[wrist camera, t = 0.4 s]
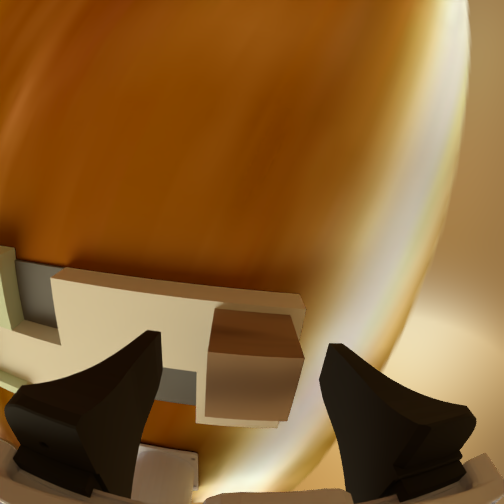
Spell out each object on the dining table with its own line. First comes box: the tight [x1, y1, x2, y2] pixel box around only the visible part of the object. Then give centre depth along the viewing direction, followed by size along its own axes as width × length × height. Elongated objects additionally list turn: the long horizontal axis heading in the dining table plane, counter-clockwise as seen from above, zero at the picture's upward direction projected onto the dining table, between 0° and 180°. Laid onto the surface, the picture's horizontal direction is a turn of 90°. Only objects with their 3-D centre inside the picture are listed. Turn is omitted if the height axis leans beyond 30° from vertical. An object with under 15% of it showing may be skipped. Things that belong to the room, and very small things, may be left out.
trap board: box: [0, 246, 306, 428], centre depth 20 cm, size 14×31×5 cm, turn 83°
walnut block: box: [205, 308, 305, 421], centre depth 18 cm, size 5×5×5 cm
